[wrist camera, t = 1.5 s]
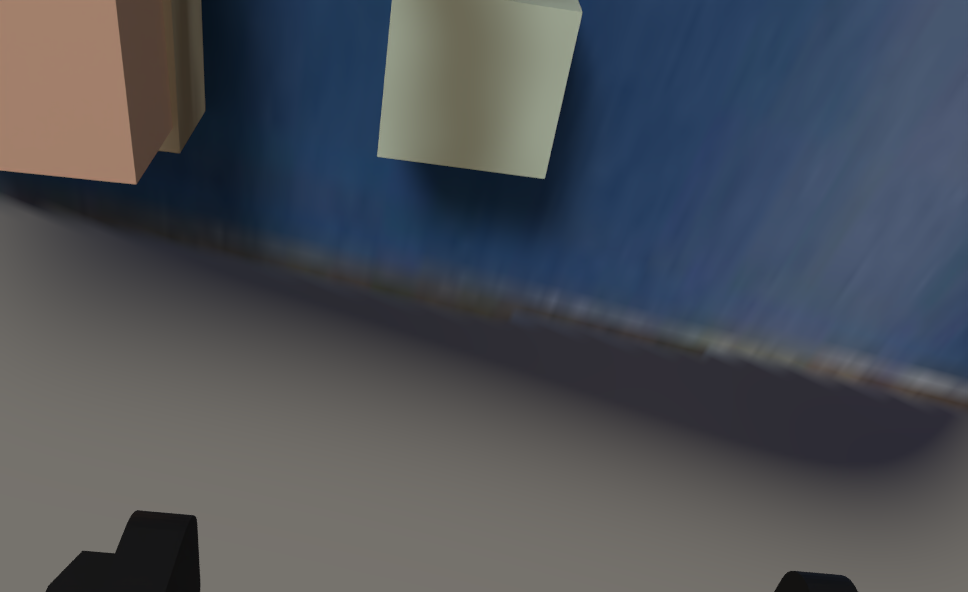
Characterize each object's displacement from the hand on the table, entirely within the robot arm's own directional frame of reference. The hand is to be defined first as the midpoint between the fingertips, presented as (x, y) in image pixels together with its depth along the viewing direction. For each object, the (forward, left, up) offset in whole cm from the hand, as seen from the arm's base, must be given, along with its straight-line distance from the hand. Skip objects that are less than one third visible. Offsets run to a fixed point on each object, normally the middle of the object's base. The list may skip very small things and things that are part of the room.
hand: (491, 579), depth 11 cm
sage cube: (0, 0, -23) cm, 23 cm away
